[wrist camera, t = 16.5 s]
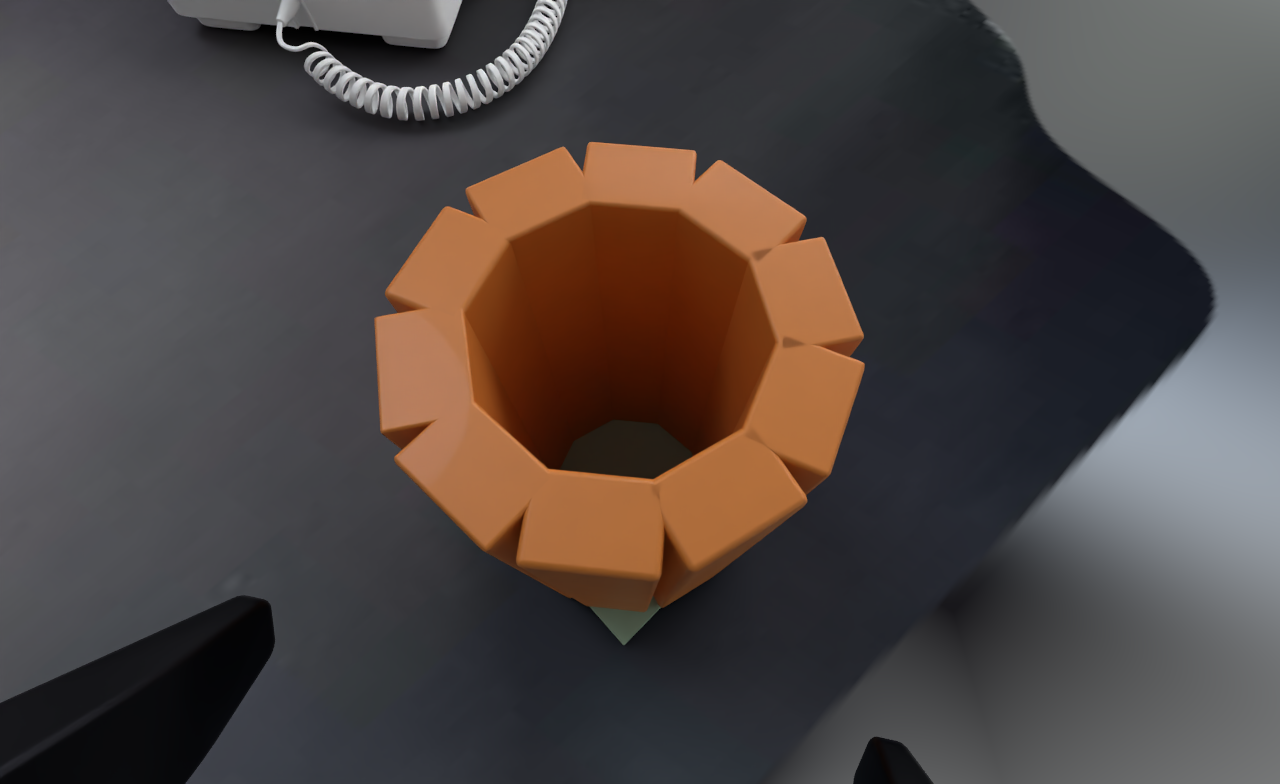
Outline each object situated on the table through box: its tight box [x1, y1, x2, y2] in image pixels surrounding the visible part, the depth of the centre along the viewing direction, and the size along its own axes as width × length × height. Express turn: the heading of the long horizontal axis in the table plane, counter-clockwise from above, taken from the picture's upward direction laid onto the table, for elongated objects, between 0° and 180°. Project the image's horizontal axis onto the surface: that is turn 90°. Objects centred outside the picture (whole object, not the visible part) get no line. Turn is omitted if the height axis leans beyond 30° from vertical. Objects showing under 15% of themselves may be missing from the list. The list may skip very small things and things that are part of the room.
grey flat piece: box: [560, 419, 692, 645], centre depth 17 cm, size 6×6×1 cm
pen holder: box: [375, 142, 864, 612], centre depth 12 cm, size 6×7×10 cm
